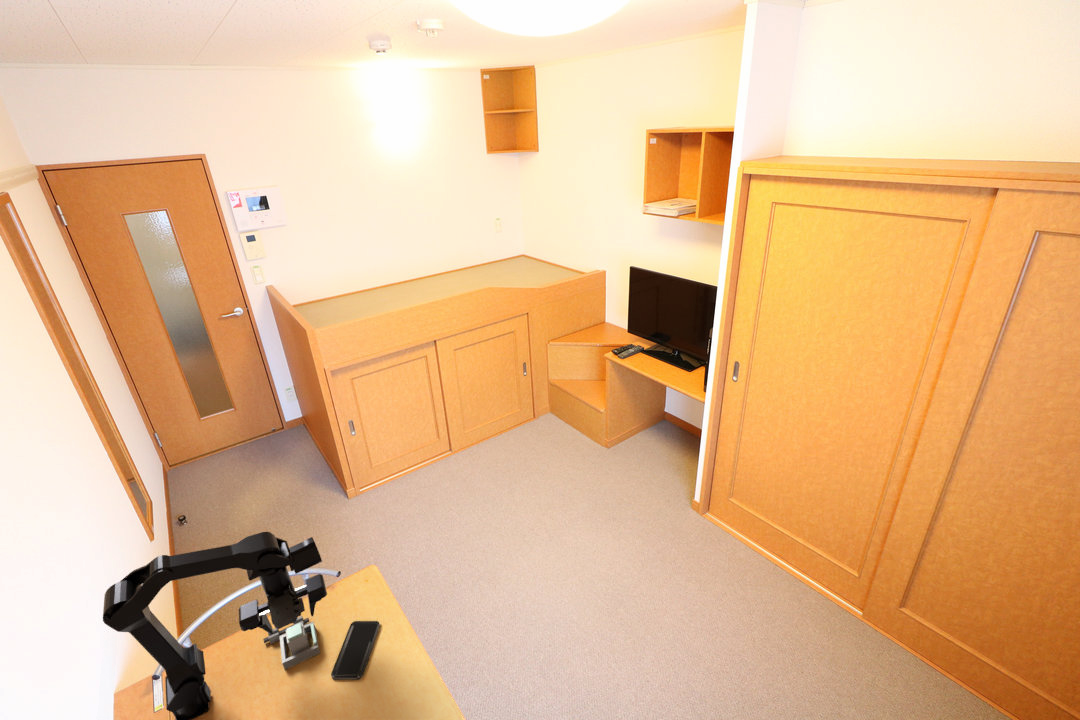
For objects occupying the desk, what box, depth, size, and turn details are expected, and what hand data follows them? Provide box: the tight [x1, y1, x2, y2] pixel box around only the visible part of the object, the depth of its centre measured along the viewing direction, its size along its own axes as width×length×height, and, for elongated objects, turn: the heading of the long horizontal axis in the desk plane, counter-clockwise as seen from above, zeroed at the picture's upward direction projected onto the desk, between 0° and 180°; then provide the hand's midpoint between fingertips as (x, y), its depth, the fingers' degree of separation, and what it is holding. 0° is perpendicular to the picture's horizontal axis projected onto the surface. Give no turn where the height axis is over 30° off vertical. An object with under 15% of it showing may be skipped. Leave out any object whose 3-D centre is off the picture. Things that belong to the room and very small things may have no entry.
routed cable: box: [262, 615, 310, 645], centre depth 131 cm, size 11×2×2 cm, turn 120°
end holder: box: [279, 621, 321, 671], centre depth 127 cm, size 8×8×3 cm
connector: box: [285, 623, 311, 656], centre depth 126 cm, size 4×4×7 cm
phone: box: [330, 620, 381, 681], centre depth 127 cm, size 8×1×15 cm
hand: (292, 623), depth 124 cm, fingers open, 9 cm apart
